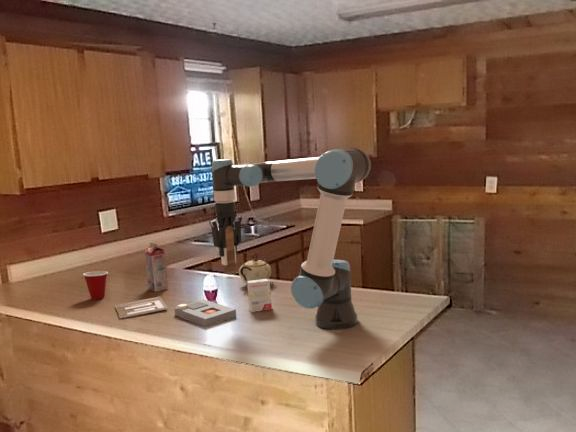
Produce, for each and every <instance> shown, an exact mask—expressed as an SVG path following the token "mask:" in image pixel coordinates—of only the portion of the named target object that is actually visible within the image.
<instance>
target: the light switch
mask: <svg viewBox="0 0 576 432" xmlns="http://www.w3.org/2000/svg"><path fill="white" fill-rule="evenodd" d="M153 303H154V304H153ZM118 308H119V309H120V308H124V311H128V312H126V315H121V316H120V313H119V310H118ZM115 310H116V311H117V314H118V316H119V319H121V320H122V319H126V318H131V317H137V316H141V315H146V314H150V313H156V312H160V311H166V310H168V305H166V303H165V302H164V300H163V298H162V297H161V296H156V297H150V298H145V299H139V300H135V301H131V302H129V301H128V302H124V303H120V304H118V303H117V304H115ZM129 310H132V311H129Z"/></svg>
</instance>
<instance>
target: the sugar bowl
mask: <svg viewBox="0 0 576 432" xmlns="http://www.w3.org/2000/svg"><path fill="white" fill-rule="evenodd" d="M269 262H270V261H269V260H268V259H266V258H264V259H262V260H261V259H258V254H257V253H255V252H253V253H251V260H248V261H245V262H243V263H242V265H240V267H239V268H238V275H239V278H240V279H241V280H242V281H243V282H244V284H245V285H246V286H247V281H252V280H260V279H268V280H269V279H270V277H271V274H272V268H271V266H270V264H269Z"/></svg>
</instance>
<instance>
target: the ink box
mask: <svg viewBox="0 0 576 432" xmlns="http://www.w3.org/2000/svg"><path fill="white" fill-rule="evenodd" d="M246 287H247V296H248V297H247V298H248V308H249V309H248V310H249V311H250V312H251V313H256V312H255V311H257V312H261V311H270V310H272V309H273V307H272V306H273V305H272V292H271V282H270V280H269V278H268V279H260V280H252V281H247V285H246Z"/></svg>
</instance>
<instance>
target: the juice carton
mask: <svg viewBox="0 0 576 432" xmlns="http://www.w3.org/2000/svg"><path fill="white" fill-rule="evenodd" d="M144 258H145V259H144V261H145V268H146V279H147V287H148V290H149V291H152V292H155V293H156V292H160V291H163V290H167V289H169V285H168V276H167V265H166V256H165V249H164V248H161V247H158V244H157V243H153V242H149V246H148V247H147V248H146V249H145V250H144Z"/></svg>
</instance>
